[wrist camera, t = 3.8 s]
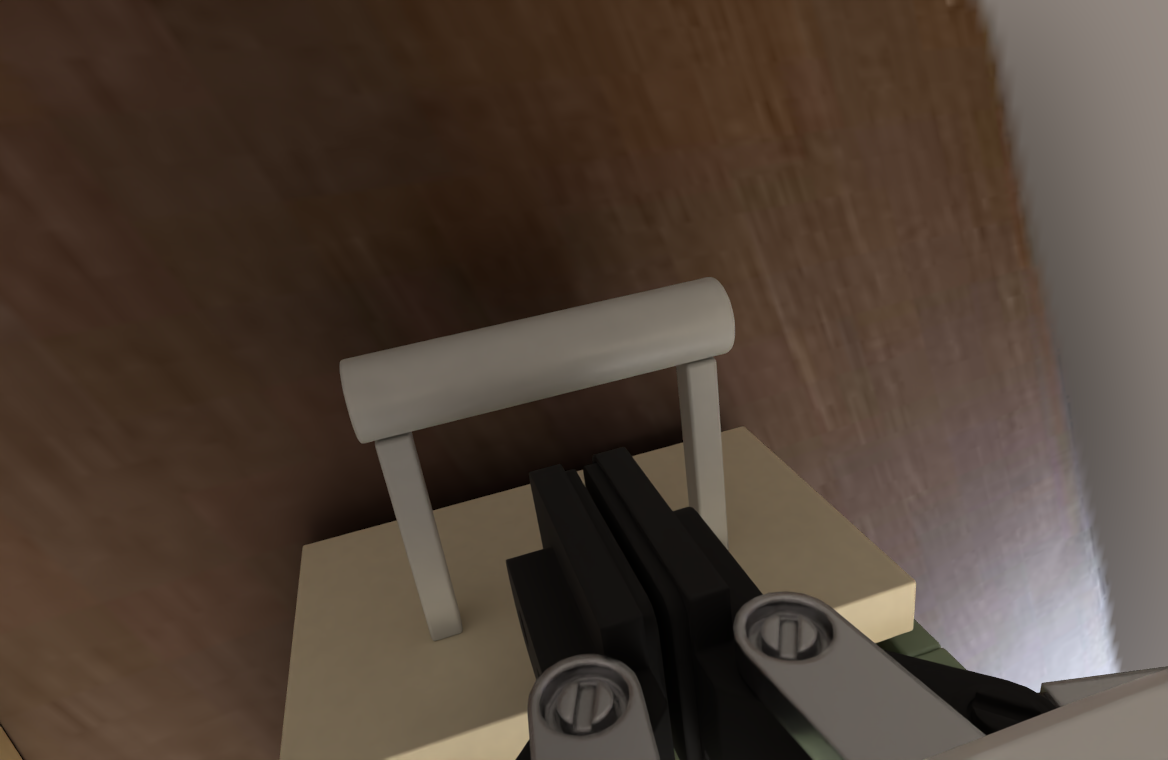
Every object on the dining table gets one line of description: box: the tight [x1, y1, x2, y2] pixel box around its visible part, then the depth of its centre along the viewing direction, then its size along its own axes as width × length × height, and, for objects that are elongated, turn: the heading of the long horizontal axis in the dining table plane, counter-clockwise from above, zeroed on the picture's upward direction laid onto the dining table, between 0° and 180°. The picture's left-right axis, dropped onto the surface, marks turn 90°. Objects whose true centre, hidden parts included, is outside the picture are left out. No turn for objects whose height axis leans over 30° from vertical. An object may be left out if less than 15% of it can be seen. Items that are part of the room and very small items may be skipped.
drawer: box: [279, 277, 916, 760], centre depth 17 cm, size 19×11×7 cm, turn 8°
